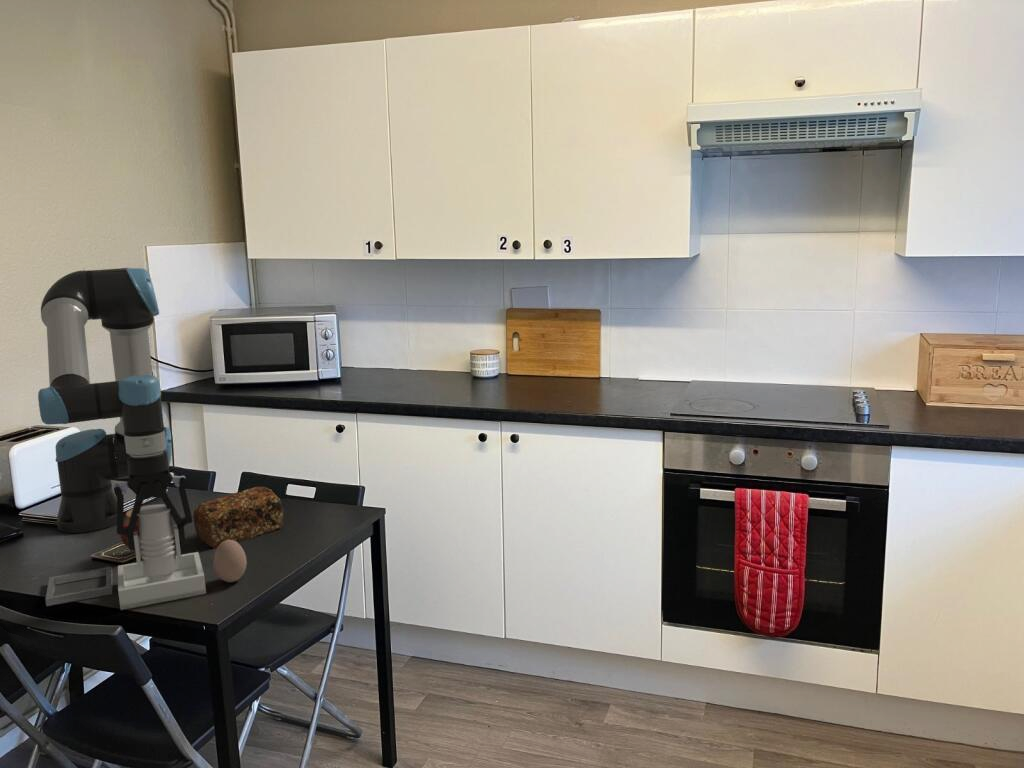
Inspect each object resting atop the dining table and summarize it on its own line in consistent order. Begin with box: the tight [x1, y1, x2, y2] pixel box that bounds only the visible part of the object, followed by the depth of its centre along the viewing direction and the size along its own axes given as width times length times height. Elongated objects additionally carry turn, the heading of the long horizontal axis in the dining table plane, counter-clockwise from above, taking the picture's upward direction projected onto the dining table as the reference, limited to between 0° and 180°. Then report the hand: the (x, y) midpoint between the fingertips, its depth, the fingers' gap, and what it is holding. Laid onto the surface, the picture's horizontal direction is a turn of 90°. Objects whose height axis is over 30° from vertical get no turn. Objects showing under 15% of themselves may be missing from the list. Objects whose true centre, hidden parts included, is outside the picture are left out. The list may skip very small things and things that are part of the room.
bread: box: [192, 486, 284, 549], centre depth 209 cm, size 19×11×10 cm, turn 132°
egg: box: [212, 540, 248, 583], centre depth 181 cm, size 7×7×9 cm
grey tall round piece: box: [137, 503, 178, 584], centre depth 177 cm, size 7×7×15 cm
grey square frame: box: [45, 566, 113, 607], centre depth 180 cm, size 12×12×2 cm
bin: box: [117, 551, 207, 611], centre depth 179 cm, size 14×16×4 cm
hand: (159, 560), depth 178 cm, fingers closed on grey tall round piece, 7 cm apart
